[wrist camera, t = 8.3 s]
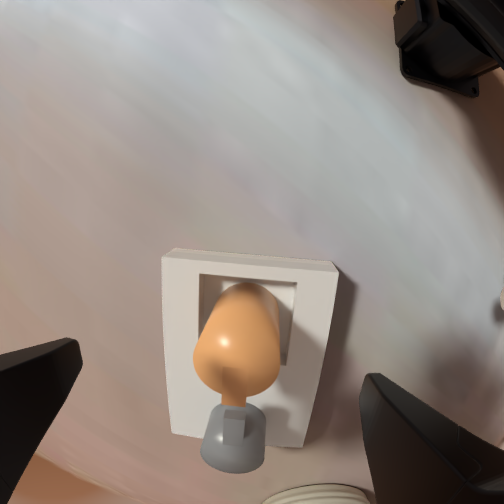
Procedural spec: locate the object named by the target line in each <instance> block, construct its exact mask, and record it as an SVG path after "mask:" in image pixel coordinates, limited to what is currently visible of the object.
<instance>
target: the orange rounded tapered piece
mask: <svg viewBox="0 0 504 504" xmlns="http://www.w3.org/2000/svg"><path fill="white" fill-rule="evenodd" d="M193 364H194V368H195V371H196V373H197V375H198V377H199V378H200V379H201V381H202V382H203V383H204V384H205V385H207V386H208V387H209V388H210V389H212V390H213V391H215V392H217V393H220V394H222V398H221V405H229V406H237V407H245V406H246V399H247V397H250V396H254V395H257V394H260V393H262V392H263V391H265V390H266V389H268V388H269V387H270V386H271V385H272V384H273V383H274V382H275V380H276V378H277V376H278V374H279V370H280V327H279V307H278V303H277V301H276V299H275V297H274V296H273V295H272V293H271V292H269V291H268V290H267V289H266V288H264V287H262V286H260V285H258V284H255V283H247V282H244V283H238V284H234V285H232V286H230V287H228V288H227V289H226V290H224V291H223V292H222V294H221V295H220V296H219V298H218V300H217V302H216V304H215V306H214V308H213V310H212V313H211V315H210V317H209V319H208V321H207V323H206V325H205V327H204V329H203V331H202V334H201V336H200V338H199V340H198V342H197V344H196V346H195V349H194V353H193Z"/></svg>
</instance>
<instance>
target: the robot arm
mask: <svg viewBox="0 0 504 504" xmlns="http://www.w3.org/2000/svg"><path fill="white" fill-rule="evenodd" d="M400 5H401V6H400ZM395 11H396V14H395V15H394V17H393V20H394V31H395V43H396V45H397V47H398V48H399V58H400V71H401V73H402V74H403V75H404V76H405V77H408V78H412V79H416V80H419V81H423V82H426V83H429V84H433V85H436V86H439V87H442V88H445V89H448V90H451V91H454V92H457V93H460V94H463V95H465V96H468V97H471V98H475V97H478V96H479V84H478V77H479V76H481V75H483V74H486V73H488V72H490V71H492V70H495V69H497V68H499V67H501V68H502V69H503V70H504V0H406V1H401V0H399V1H397V3H396V4H395ZM406 67H407V68H409V70H410V72H408V71H407V70H406ZM471 89H472V90H473V91H474V93H473V92H472V90H471ZM82 365H83V360H82V356H81V351H80V346H79V343H78V341H77V340H75V339H71V338H63V339H59V340H55V341H51V342H48V343H44V344H40V345H36V346H33V347H29V348H25V349H21V350H17V351H13V352H9V353H5V354H1V355H0V504H7V503H8V501H9V499H10V497H11V495H12V493H13V491H14V489H15V487H16V485H17V483H18V482H19V480H20V478H21V476H22V474H23V472H24V470H25V468H26V467H27V465H28V463H29V461H30V460H31V458H32V456H33V454H34V453H35V451H36V449H37V447H38V446H39V444H40V442H41V440H42V439H43V437H44V435H45V434H46V432H47V430H48V429H49V427H50V425H51V424H52V422H53V420H54V419H55V417H56V415H57V414H58V412H59V411H60V409H61V407H62V406H63V404H64V402H65V401H66V399H67V397H68V395H69V393H70V391H71V389H72V387H73V385H74V382H75V380H76V378H77V376H78V375H79V373H80V371H81V369H82ZM359 405H360V413H361V422H362V431H363V440H364V446H365V451H366V455H367V459H368V464H369V468H370V473H371V477H372V482H373V487H374V491H375V496H376V501H377V504H504V450H502V449H500V448H498V447H496V446H494V445H492V444H490V443H488V442H486V441H484V440H482V439H480V438H479V437H477V436H475V435H474V434H472V433H470V432H469V431H467V430H466V429H464V428H463V427H461V426H458V424H456V423H455V422H453V421H452V420H450V419H448V418H447V417H445V416H444V415H442V414H441V413H439V412H438V411H436V410H435V409H433V408H432V407H430V406H429V405H427V404H426V403H424V402H423V401H421V400H419V399H418V398H416V397H415V396H413V395H412V394H410V393H409V392H407V391H406V390H404V389H403V388H401V387H400V386H398V385H397V384H396V383H394V382H393V381H391V380H390V379H388V378H387V377H385V376H384V375H382V374H381V373H368V374H367V375H366V376H365V379H364V382H363V386H362V389H361V392H360V396H359Z"/></svg>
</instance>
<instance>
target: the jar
mask: <svg viewBox="0 0 504 504" xmlns="http://www.w3.org/2000/svg"><path fill="white" fill-rule="evenodd" d="M262 504H370V502H369V501H368V500H367V498H366V495H365V494H364V493H363V492H362V491H361V490H359V489H357V488H354V487H350V486H345V485H336V484H322V485H311V486H304V487H299V488H294V489H290V490H287V491H284V492H281V493H278V494H276V495H274V496H272V497H270V498H268V499H266V500H265V501H264V502H263V503H262Z"/></svg>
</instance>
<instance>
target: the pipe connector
mask: <svg viewBox="0 0 504 504" xmlns="http://www.w3.org/2000/svg"><path fill="white" fill-rule="evenodd" d="M500 303H501V307H502V309H503V310H504V287H503V289H502V292H501V297H500Z"/></svg>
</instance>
